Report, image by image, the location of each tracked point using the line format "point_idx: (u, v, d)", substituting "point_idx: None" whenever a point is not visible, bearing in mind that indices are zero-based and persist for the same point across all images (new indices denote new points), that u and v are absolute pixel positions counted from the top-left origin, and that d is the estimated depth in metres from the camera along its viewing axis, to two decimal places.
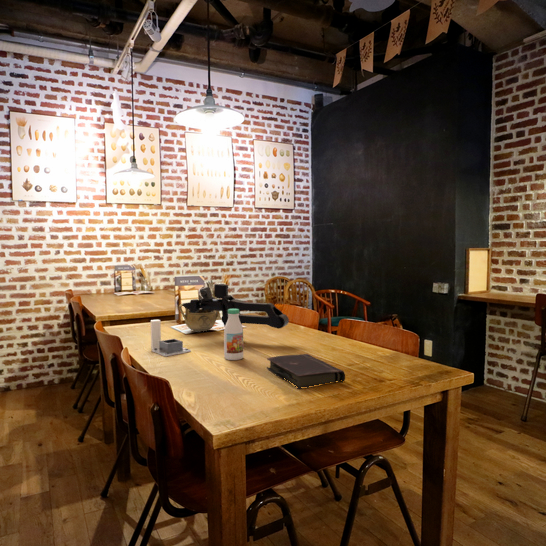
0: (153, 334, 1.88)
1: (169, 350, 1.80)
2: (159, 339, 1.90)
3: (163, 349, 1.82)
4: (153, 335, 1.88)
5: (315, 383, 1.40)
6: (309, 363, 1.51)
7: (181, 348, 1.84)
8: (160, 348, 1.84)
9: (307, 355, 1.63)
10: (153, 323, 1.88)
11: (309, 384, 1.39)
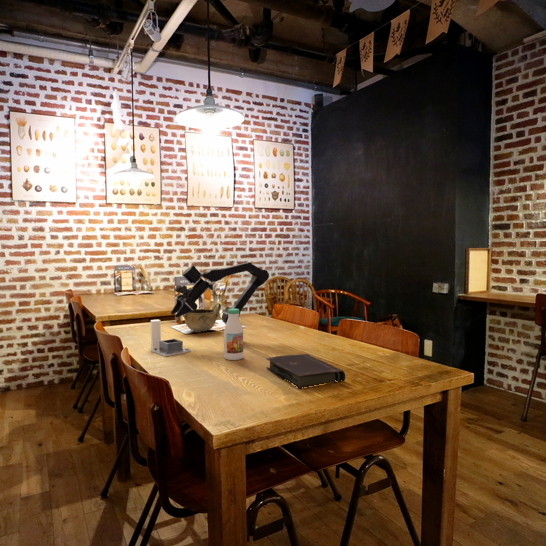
0: (153, 334, 1.88)
1: (169, 350, 1.80)
2: (159, 339, 1.90)
3: (163, 349, 1.82)
4: (153, 335, 1.88)
5: (315, 383, 1.40)
6: (309, 363, 1.51)
7: (181, 348, 1.84)
8: (160, 348, 1.84)
9: (306, 355, 1.63)
10: (153, 323, 1.88)
11: (309, 384, 1.39)
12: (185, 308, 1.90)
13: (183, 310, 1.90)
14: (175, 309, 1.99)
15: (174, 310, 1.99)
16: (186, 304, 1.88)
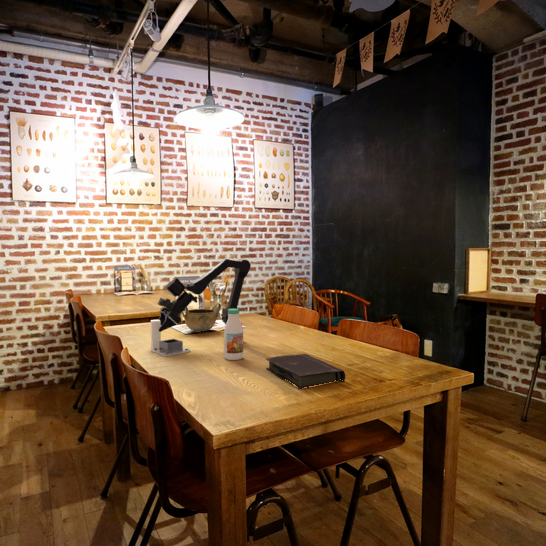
0: (153, 334, 1.88)
1: (169, 350, 1.80)
2: (159, 339, 1.90)
3: (163, 349, 1.82)
4: (153, 335, 1.88)
5: (316, 383, 1.40)
6: (309, 363, 1.51)
7: (181, 348, 1.84)
8: (160, 348, 1.84)
9: (305, 355, 1.63)
10: (153, 323, 1.88)
11: (310, 384, 1.39)
12: (169, 322, 1.87)
13: (167, 324, 1.87)
14: None
15: None
16: (169, 318, 1.85)
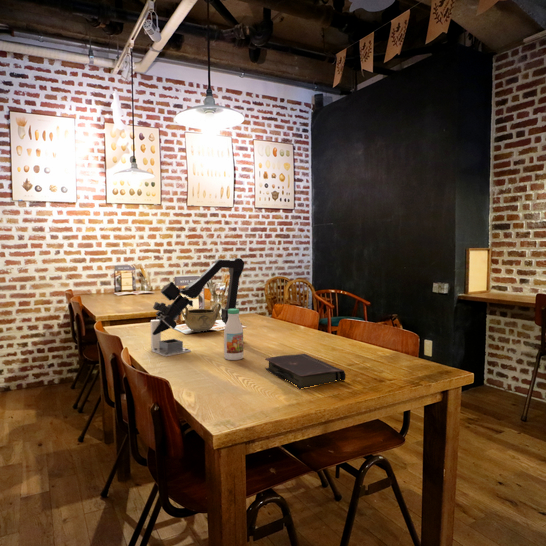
0: None
1: (169, 350, 1.80)
2: (159, 339, 1.89)
3: (163, 349, 1.82)
4: (153, 335, 1.88)
5: (316, 383, 1.40)
6: (308, 363, 1.51)
7: (181, 348, 1.84)
8: (160, 348, 1.84)
9: (305, 355, 1.63)
10: (153, 323, 1.88)
11: (311, 384, 1.39)
12: (163, 325, 1.89)
13: (161, 327, 1.88)
14: None
15: None
16: (163, 321, 1.86)
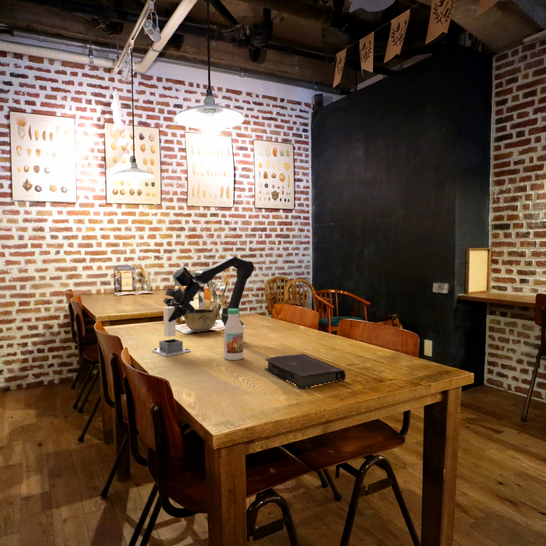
0: (168, 321, 1.82)
1: (169, 350, 1.80)
2: (174, 326, 1.84)
3: (163, 349, 1.82)
4: (168, 322, 1.82)
5: (317, 383, 1.40)
6: (308, 363, 1.51)
7: (181, 348, 1.84)
8: (160, 348, 1.84)
9: (304, 355, 1.63)
10: (168, 310, 1.82)
11: (311, 384, 1.39)
12: (178, 312, 1.83)
13: (176, 314, 1.83)
14: None
15: None
16: (180, 307, 1.81)
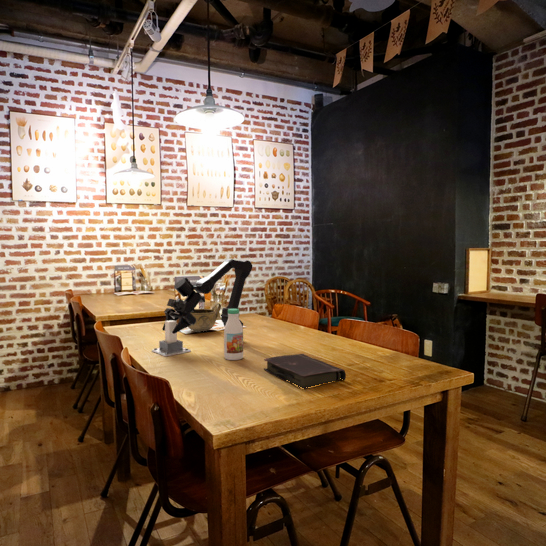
0: (170, 335, 1.82)
1: (169, 350, 1.80)
2: (175, 340, 1.84)
3: (163, 349, 1.82)
4: (169, 336, 1.82)
5: (318, 383, 1.40)
6: (308, 363, 1.51)
7: (181, 348, 1.84)
8: (160, 348, 1.84)
9: (302, 355, 1.63)
10: (170, 324, 1.82)
11: (312, 384, 1.39)
12: (182, 323, 1.81)
13: (181, 325, 1.81)
14: None
15: None
16: (185, 319, 1.80)
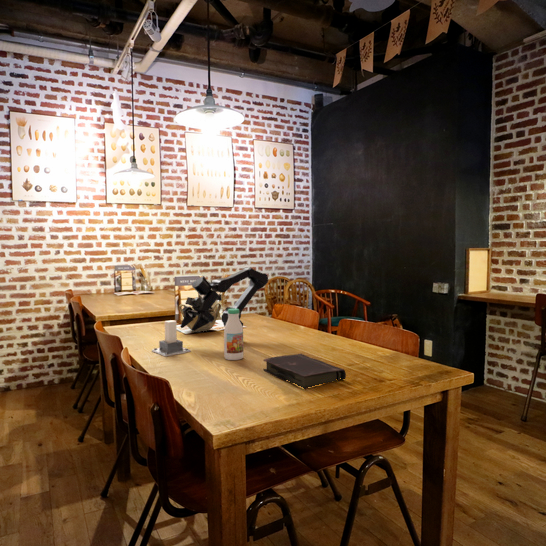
0: (170, 335, 1.82)
1: (169, 350, 1.80)
2: (175, 340, 1.84)
3: (163, 349, 1.82)
4: (169, 336, 1.82)
5: (318, 383, 1.40)
6: (307, 363, 1.51)
7: (181, 348, 1.84)
8: (160, 348, 1.84)
9: (301, 355, 1.63)
10: (170, 324, 1.81)
11: (313, 384, 1.39)
12: (201, 321, 1.87)
13: (199, 323, 1.87)
14: (185, 322, 1.94)
15: (184, 323, 1.93)
16: (203, 317, 1.86)
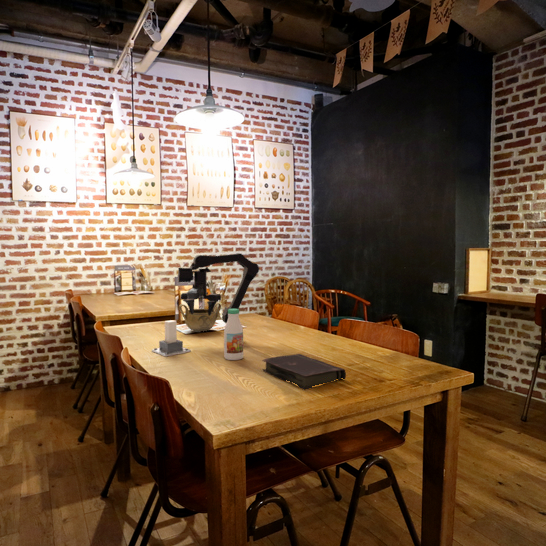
0: (170, 335, 1.82)
1: (169, 350, 1.80)
2: (175, 340, 1.84)
3: (163, 349, 1.82)
4: (169, 336, 1.82)
5: (319, 382, 1.40)
6: (307, 363, 1.52)
7: (181, 348, 1.84)
8: (160, 348, 1.84)
9: (300, 355, 1.63)
10: (170, 324, 1.81)
11: (314, 384, 1.39)
12: (211, 303, 1.99)
13: (211, 306, 1.99)
14: (191, 308, 2.03)
15: (192, 310, 2.03)
16: (214, 301, 1.97)
